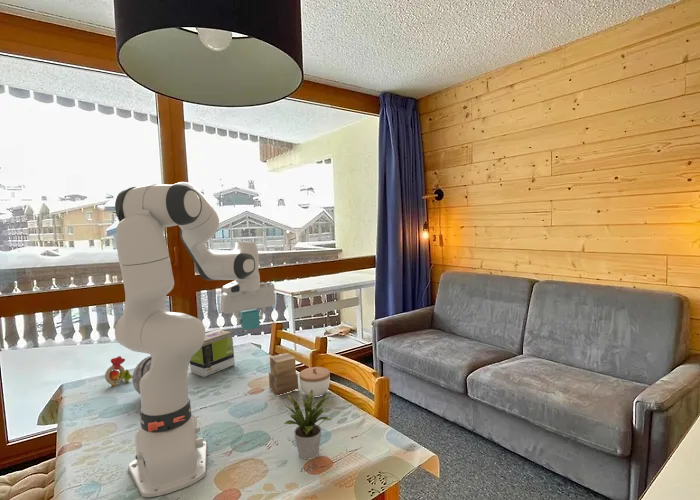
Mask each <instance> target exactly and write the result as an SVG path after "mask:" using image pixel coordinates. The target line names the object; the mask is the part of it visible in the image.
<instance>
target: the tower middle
mask: <svg viewBox="0 0 700 500" xmlns="http://www.w3.org/2000/svg"><path fill="white" fill-rule="evenodd" d="M269 367H270V368H269V369H270V370H269V371H270V372H271V373H272V374H273V375H274V376H275V377H276V378H277V379H280V378H284V377H288V376H292V375H296V374H297V368H296V367H297V365H296V357H295V356H293V355H292V354H290V353H289V352H285V353H280V354H275V355H272V356H269Z"/></svg>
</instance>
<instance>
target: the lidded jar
mask: <svg viewBox="0 0 700 500" xmlns="http://www.w3.org/2000/svg"><path fill="white" fill-rule="evenodd" d="M330 376H331V370H329V369H328V368H326V367H323V366H322V367H321V366H313V367H307V368H305V369H302V370H301V371H300V372H299V374H298V378H299V384H300V388H301V391H302V392H303V393H304V394H305V395H306V396H307V395H308V396H309V394H310V392H311V389H312V391H313V397H315V396H320V395H323V394H324V395H325V393H326V392H327V391H328V389H329V387H330V381H331V377H330ZM324 395H323V396H324ZM308 396H307V397H308Z"/></svg>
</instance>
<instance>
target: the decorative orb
mask: <svg viewBox="0 0 700 500" xmlns="http://www.w3.org/2000/svg"><path fill="white" fill-rule="evenodd" d="M151 360H152V359H151V355H148V356H146V357H145V358H143V359H142V360H141V361H140V362H139V363H138V364H137V365H136V366H135V368H134V370H133V373H132V376H133V377H132V378H131V380H132V386H133V388H134V390H135V392H137V393H138V394H139V395H140V380H141V378H142V377H143V375H144V374H145V373H147V372H148V371H149V370H150V367H151Z"/></svg>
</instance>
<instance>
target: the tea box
mask: <svg viewBox="0 0 700 500" xmlns="http://www.w3.org/2000/svg"><path fill="white" fill-rule="evenodd" d="M235 363H236V362H235V351H234V341H233V332H232V331H227V330H222V329H214V330H212V331H208V332H205V340H204V343H203V345H202V347H201V348H200V350H199V351H198V352H197V353H195V354H194V355H193V357H192V358H191V360H190V363H189V367H190V372H191V373H192V374H195V375H197V376H200V377H204V378H205V377H208V376H210V375H212V374H215V373H217V372H219V371H222V370H225V369H228V368H231V367H233V366H234V365H236V364H235Z"/></svg>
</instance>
